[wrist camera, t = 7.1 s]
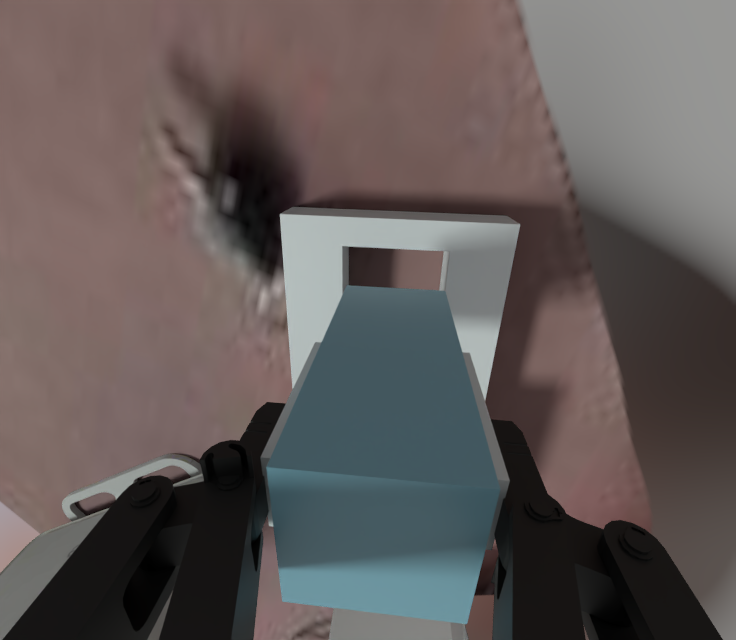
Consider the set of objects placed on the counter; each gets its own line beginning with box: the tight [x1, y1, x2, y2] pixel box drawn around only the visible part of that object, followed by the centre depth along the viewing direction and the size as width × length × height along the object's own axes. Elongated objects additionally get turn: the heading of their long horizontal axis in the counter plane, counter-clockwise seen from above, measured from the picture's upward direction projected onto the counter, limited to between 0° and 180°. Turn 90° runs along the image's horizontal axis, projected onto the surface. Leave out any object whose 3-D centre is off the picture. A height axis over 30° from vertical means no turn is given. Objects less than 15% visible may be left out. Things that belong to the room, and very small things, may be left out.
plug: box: [266, 285, 500, 624], centre depth 15 cm, size 6×5×12 cm
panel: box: [280, 207, 520, 400], centre depth 27 cm, size 24×14×6 cm, turn 179°
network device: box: [0, 454, 204, 640], centre depth 30 cm, size 26×9×20 cm, turn 118°
